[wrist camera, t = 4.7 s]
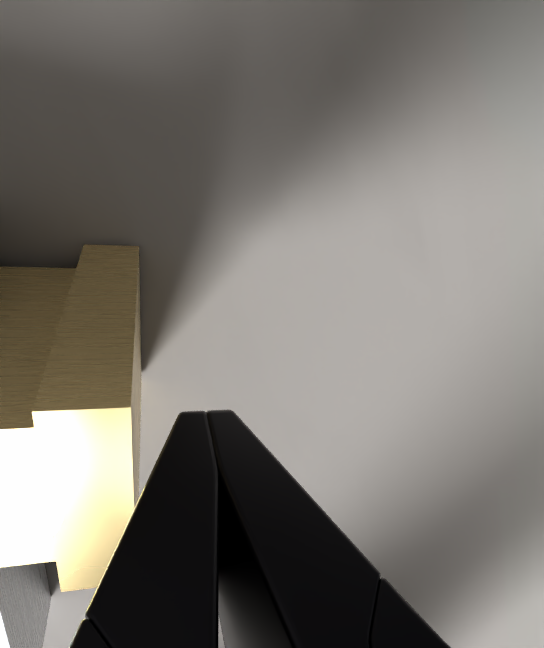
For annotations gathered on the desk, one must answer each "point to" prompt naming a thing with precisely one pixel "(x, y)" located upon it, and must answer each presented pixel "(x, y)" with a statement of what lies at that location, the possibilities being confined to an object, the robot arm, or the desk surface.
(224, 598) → the robot arm
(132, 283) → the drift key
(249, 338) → the desk surface
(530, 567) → the desk surface
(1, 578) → the socket
